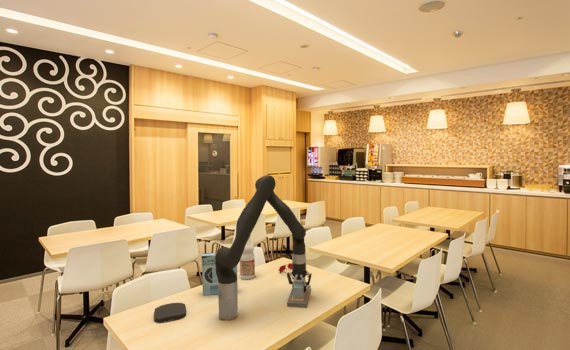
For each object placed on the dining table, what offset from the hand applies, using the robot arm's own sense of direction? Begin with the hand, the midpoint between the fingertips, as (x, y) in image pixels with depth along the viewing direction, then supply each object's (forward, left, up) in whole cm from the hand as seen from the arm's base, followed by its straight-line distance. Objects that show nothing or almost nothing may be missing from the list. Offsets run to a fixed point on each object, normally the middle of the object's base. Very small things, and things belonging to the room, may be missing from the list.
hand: (299, 291), depth 175 cm
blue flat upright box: (0, +46, -3) cm, 46 cm away
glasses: (+35, +8, -4) cm, 36 cm away
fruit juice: (+25, +37, -3) cm, 45 cm away
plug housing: (+3, 0, -1) cm, 3 cm away
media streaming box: (-28, +61, -4) cm, 67 cm away
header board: (0, 0, -3) cm, 3 cm away
